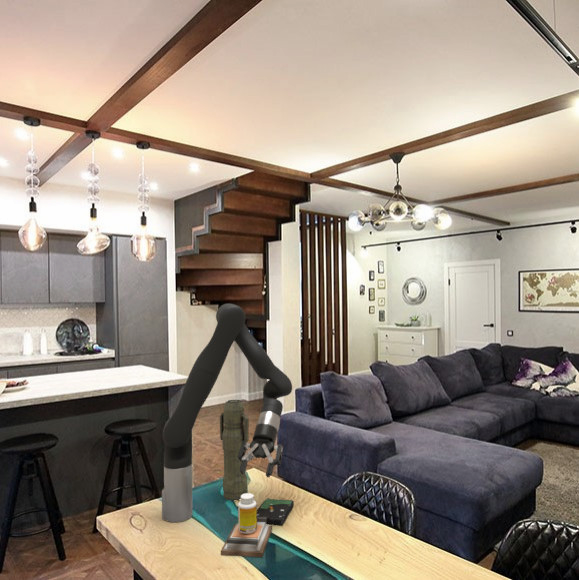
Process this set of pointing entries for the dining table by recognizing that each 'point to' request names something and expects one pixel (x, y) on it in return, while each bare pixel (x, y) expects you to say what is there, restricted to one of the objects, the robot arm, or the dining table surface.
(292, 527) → the dining table surface
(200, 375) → the robot arm
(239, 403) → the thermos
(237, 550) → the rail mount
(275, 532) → the dining table surface
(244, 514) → the supplement bottle
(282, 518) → the disk drive
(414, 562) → the dining table surface
